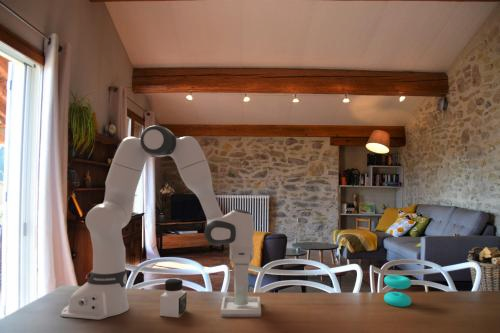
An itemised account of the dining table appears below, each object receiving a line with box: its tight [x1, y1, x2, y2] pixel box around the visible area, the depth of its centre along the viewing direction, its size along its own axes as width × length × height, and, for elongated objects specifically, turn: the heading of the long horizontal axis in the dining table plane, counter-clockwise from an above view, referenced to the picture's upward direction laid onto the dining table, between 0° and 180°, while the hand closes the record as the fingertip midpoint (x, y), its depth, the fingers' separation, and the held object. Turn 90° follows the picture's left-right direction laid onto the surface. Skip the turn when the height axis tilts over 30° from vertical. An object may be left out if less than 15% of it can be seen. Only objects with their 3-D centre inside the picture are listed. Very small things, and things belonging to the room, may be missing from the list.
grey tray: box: [220, 296, 262, 318], centre depth 137 cm, size 14×14×2 cm
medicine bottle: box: [159, 277, 187, 319], centre depth 133 cm, size 7×7×12 cm
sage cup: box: [233, 277, 249, 305], centre depth 137 cm, size 5×5×9 cm
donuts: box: [383, 274, 412, 308], centre depth 146 cm, size 10×10×10 cm
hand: (241, 291), depth 137 cm, fingers closed on sage cup, 5 cm apart
